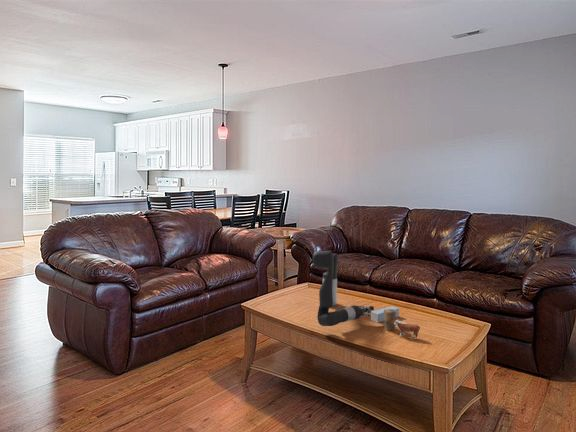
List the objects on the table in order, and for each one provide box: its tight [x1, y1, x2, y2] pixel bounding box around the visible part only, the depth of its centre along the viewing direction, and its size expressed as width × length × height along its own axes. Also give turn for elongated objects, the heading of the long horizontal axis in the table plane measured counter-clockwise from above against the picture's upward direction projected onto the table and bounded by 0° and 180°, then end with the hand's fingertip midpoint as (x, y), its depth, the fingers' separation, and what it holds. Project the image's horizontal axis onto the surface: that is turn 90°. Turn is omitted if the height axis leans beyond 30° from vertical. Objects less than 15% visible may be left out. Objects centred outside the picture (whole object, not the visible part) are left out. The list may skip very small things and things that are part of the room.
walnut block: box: [382, 309, 397, 331], centre depth 226 cm, size 5×5×10 cm
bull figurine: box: [394, 319, 421, 340], centre depth 215 cm, size 4×13×8 cm, turn 59°
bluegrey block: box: [370, 305, 400, 323], centre depth 243 cm, size 5×5×18 cm
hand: (372, 307), depth 237 cm, fingers closed
